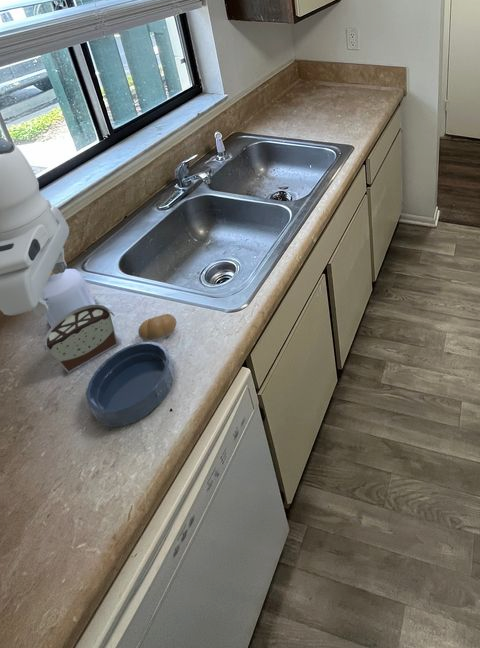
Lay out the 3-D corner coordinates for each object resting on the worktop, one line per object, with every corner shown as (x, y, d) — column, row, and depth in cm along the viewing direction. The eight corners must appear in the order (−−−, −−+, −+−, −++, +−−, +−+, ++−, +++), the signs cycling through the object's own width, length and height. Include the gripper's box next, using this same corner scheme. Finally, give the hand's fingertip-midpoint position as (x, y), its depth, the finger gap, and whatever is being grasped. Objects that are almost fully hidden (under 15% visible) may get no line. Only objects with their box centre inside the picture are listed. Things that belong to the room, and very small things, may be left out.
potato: (141, 347, 98) (134, 339, 94) (142, 326, 101) (136, 318, 98) (178, 335, 100) (173, 327, 97) (178, 316, 103) (173, 308, 100)
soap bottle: (53, 338, 99) (8, 257, 89) (49, 313, 105) (7, 234, 95) (99, 315, 104) (62, 236, 94) (92, 293, 111) (57, 216, 100)
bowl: (86, 440, 80) (77, 425, 78) (103, 370, 92) (96, 355, 90) (171, 410, 85) (165, 395, 83) (177, 347, 97) (171, 332, 94)
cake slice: (117, 323, 103) (104, 292, 98) (125, 340, 99) (111, 309, 94) (54, 358, 95) (36, 327, 90) (59, 378, 91) (41, 346, 87)
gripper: (22, 197, 80) (50, 254, 86) (-32, 279, 62) (8, 343, 68) (63, 189, 82) (88, 246, 88) (21, 266, 64) (56, 330, 70)
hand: (52, 289), depth 78 cm, fingers open, 8 cm apart
